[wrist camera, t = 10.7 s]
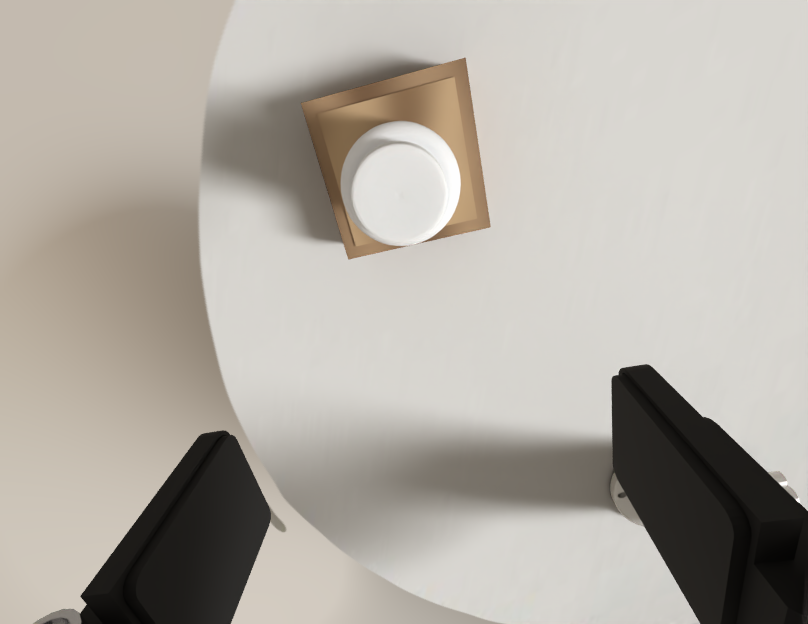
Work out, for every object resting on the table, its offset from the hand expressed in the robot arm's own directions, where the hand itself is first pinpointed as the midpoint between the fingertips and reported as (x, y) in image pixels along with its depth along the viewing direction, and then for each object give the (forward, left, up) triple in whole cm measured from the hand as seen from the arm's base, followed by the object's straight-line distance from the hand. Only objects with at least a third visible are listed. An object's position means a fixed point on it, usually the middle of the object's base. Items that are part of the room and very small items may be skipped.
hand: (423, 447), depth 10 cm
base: (0, -5, -23) cm, 24 cm away
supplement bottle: (0, -5, -20) cm, 20 cm away
